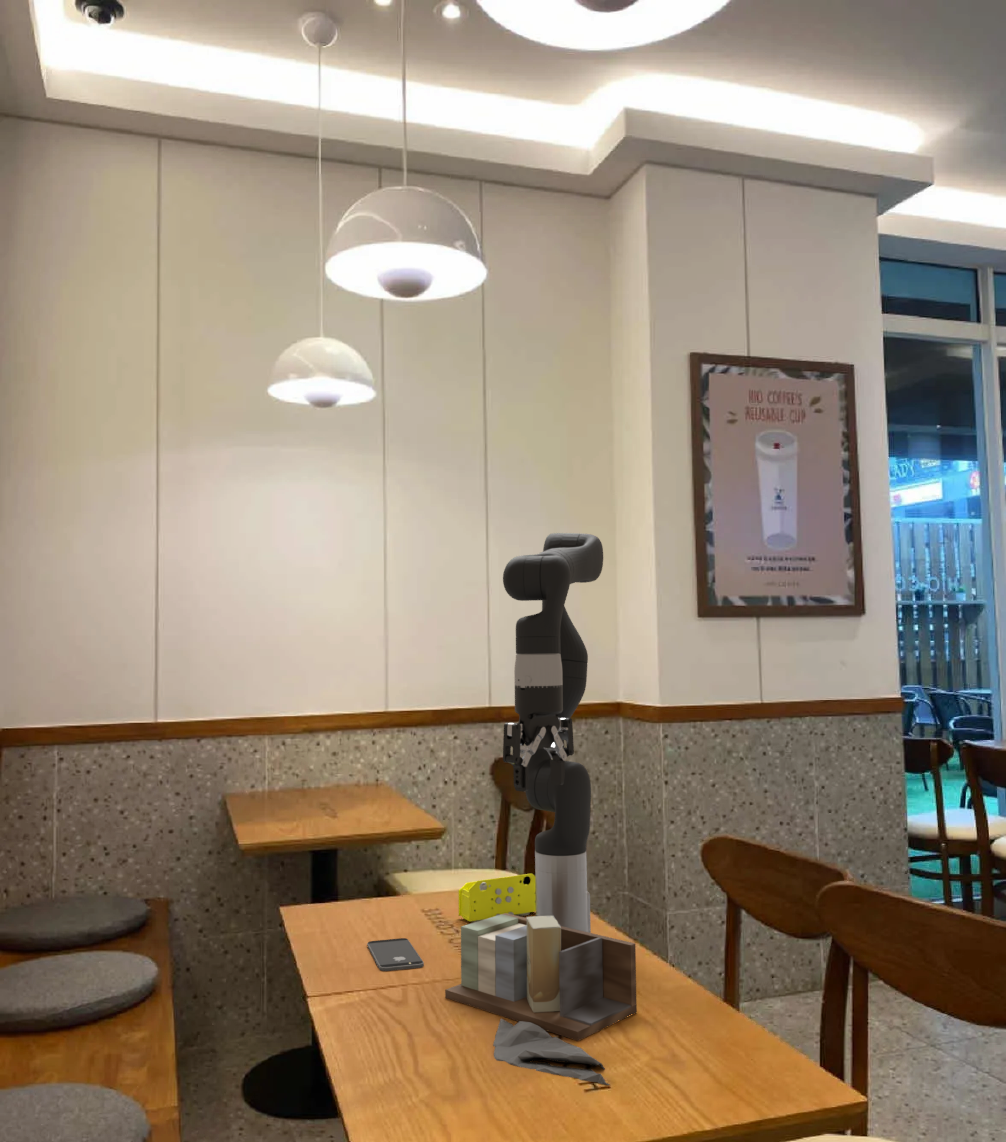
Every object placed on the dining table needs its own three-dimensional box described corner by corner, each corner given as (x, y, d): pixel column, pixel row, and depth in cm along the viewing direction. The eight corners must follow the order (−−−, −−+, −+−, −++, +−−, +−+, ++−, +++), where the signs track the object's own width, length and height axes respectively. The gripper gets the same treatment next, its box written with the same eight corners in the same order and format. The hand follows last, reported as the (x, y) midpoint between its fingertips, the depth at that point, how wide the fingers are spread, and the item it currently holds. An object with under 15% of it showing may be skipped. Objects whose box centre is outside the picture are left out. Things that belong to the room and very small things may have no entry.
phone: (365, 947, 184) (380, 974, 169) (365, 941, 184) (380, 968, 169) (407, 943, 187) (425, 969, 171) (407, 937, 187) (424, 963, 171)
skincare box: (525, 998, 152) (525, 915, 153) (554, 997, 153) (553, 914, 154) (533, 1014, 146) (532, 927, 147) (562, 1012, 146) (561, 926, 147)
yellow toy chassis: (470, 926, 196) (470, 882, 197) (457, 919, 201) (457, 876, 202) (541, 915, 204) (541, 873, 204) (528, 908, 209) (527, 867, 209)
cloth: (464, 1028, 146) (464, 1012, 146) (553, 1016, 150) (552, 1000, 150) (527, 1106, 121) (527, 1086, 121) (631, 1088, 126) (631, 1069, 126)
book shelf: (506, 975, 167) (505, 911, 167) (636, 1012, 149) (635, 942, 150) (445, 997, 156) (445, 930, 157) (577, 1041, 139) (576, 964, 140)
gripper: (549, 681, 166) (550, 781, 165) (489, 684, 156) (490, 791, 155) (585, 681, 161) (587, 785, 160) (526, 685, 151) (527, 795, 149)
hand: (539, 787), depth 157 cm, fingers open, 8 cm apart
